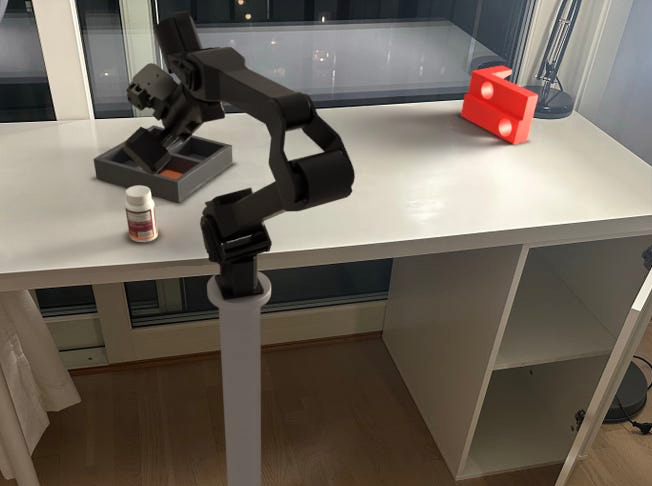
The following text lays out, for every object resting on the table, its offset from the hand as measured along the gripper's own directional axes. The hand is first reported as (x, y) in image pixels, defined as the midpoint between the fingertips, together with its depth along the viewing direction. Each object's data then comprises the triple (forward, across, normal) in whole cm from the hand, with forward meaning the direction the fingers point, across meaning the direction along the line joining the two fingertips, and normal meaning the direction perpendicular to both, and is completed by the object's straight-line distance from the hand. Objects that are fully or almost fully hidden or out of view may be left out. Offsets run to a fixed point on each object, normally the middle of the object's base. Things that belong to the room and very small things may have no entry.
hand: (163, 141), depth 116 cm
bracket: (+10, -70, +49) cm, 86 cm away
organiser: (+22, -7, +3) cm, 23 cm away
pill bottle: (+7, +12, +8) cm, 16 cm away
